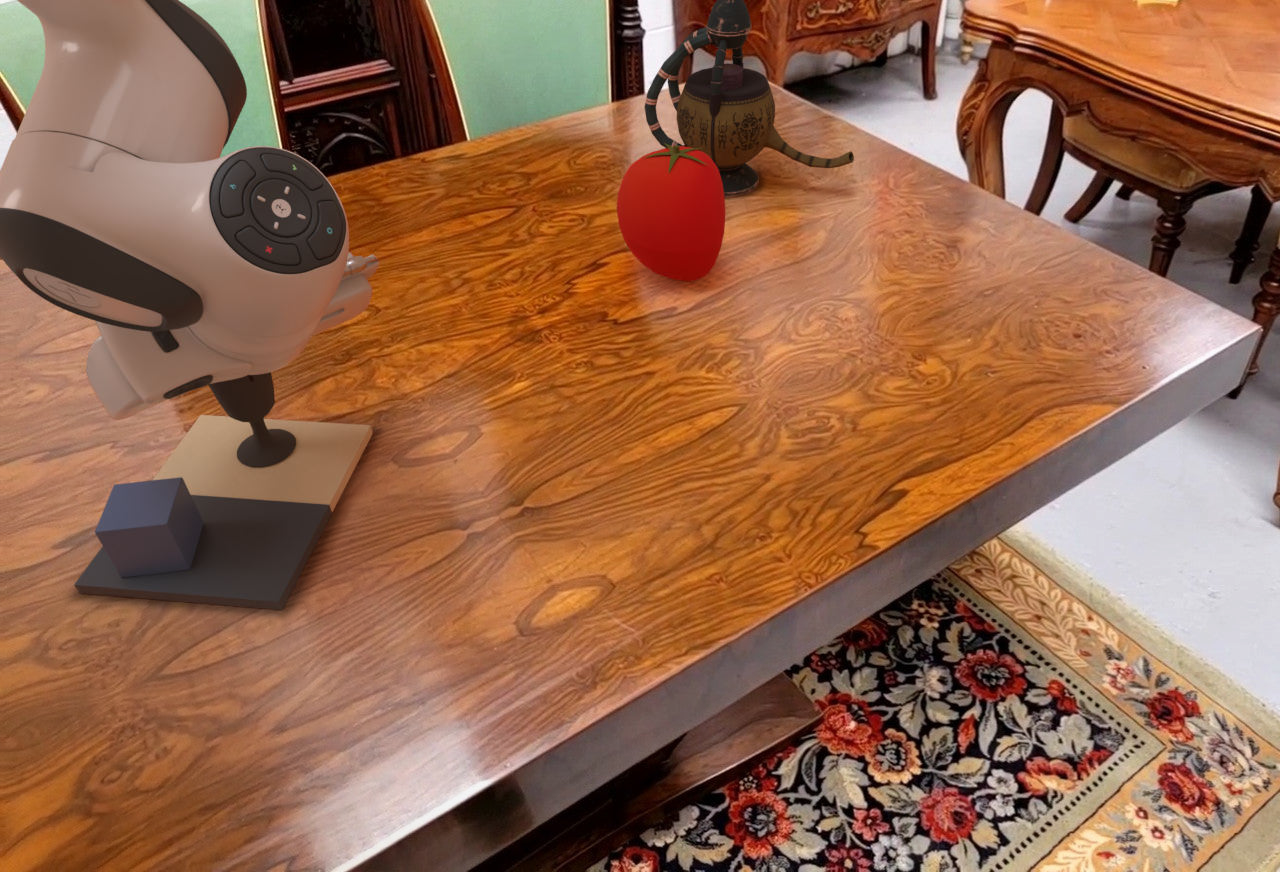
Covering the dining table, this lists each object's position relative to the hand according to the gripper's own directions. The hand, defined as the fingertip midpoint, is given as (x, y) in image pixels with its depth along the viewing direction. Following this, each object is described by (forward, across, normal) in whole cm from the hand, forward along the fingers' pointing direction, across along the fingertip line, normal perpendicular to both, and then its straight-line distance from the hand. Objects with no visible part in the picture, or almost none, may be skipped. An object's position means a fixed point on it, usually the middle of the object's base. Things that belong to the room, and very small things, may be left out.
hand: (230, 362), depth 75 cm
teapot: (+11, -69, +3) cm, 70 cm away
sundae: (+6, 0, +7) cm, 9 cm away
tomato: (+5, -47, +9) cm, 48 cm away
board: (+4, +4, +10) cm, 12 cm away
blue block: (+2, +11, +11) cm, 15 cm away
